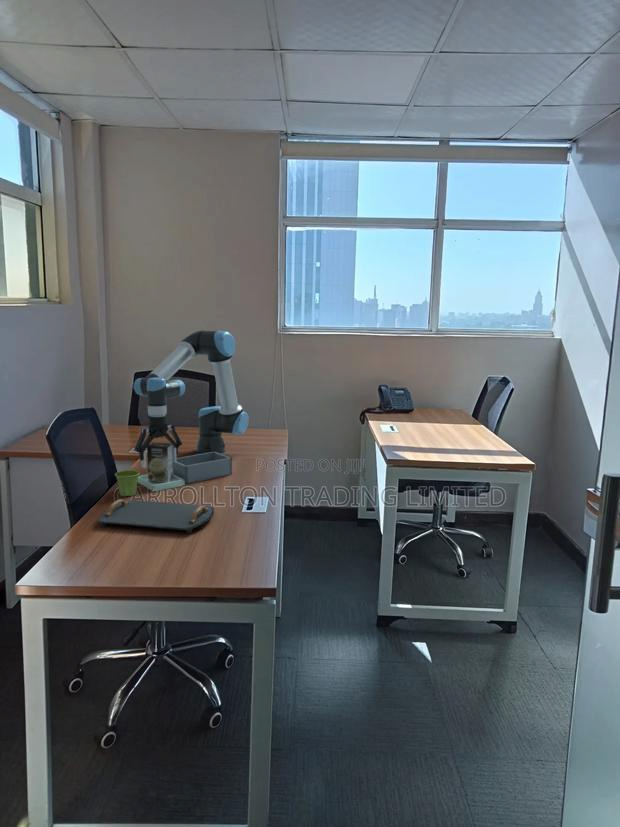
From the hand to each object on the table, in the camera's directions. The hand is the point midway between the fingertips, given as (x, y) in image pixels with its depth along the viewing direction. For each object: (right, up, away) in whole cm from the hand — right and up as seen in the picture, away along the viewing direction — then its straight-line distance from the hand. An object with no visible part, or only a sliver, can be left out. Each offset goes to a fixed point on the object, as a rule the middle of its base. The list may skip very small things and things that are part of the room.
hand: (159, 464), depth 239 cm
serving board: (+10, -16, -39) cm, 44 cm away
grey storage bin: (+15, -6, +15) cm, 22 cm away
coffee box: (0, -7, +2) cm, 7 cm away
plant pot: (-9, -11, -12) cm, 19 cm away
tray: (0, -8, +1) cm, 8 cm away
